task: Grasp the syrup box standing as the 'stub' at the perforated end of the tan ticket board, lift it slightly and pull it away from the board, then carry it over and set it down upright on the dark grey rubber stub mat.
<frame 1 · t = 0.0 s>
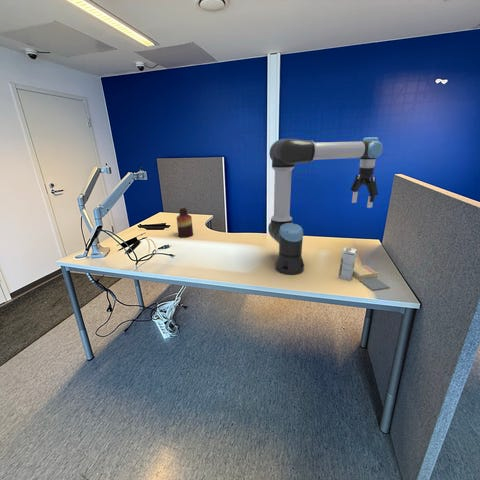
hand: (361, 205, 149), 28 cm above the table, fingers open, 13 cm apart
syrup box: (345, 277, 126), on the table
ticket board: (361, 274, 128), on the table
brown cylindrical bottle: (185, 235, 191), on the table
stub mat: (373, 284, 119), on the table
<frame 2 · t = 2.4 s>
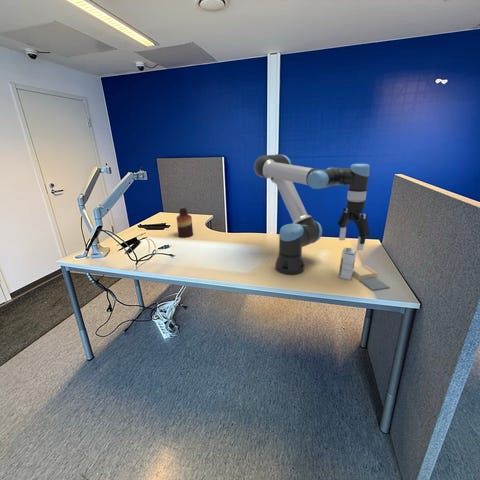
hand: (350, 244, 120), 17 cm above the table, fingers open, 13 cm apart
nothing on the table moved.
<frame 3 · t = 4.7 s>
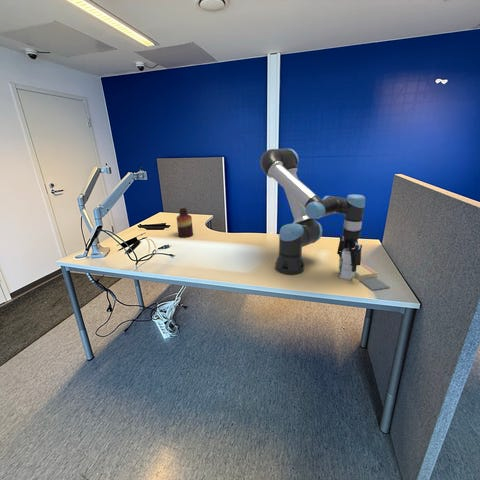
hand: (346, 272, 126), 2 cm above the table, fingers closed on syrup box, 8 cm apart
syrup box: (345, 277, 126), on the table, touching gripper
everything else where it was.
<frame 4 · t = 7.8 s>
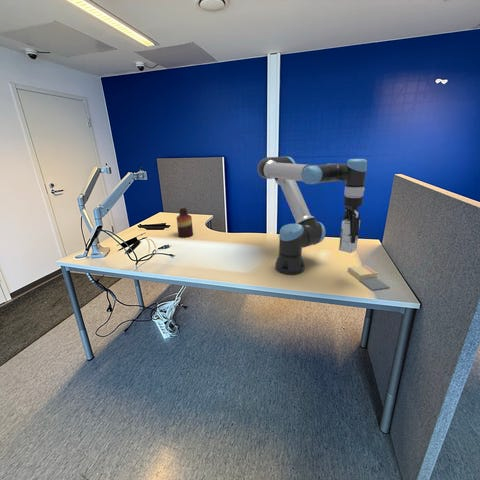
hand: (348, 245, 117), 18 cm above the table, fingers closed on syrup box, 8 cm apart
syrup box: (347, 250, 118), point 15 cm above the table, touching gripper
everything else where it was.
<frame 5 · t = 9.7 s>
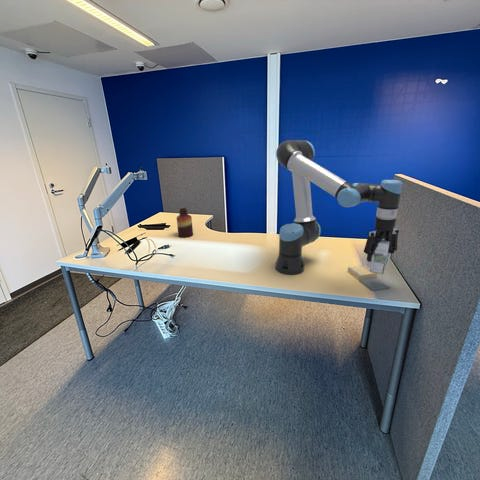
hand: (377, 266, 115), 9 cm above the table, fingers closed on syrup box, 8 cm apart
syrup box: (376, 271, 116), point 7 cm above the table, touching gripper
everything else where it was.
when the fingers open (4 cm above the table, at t = 11.3 s): syrup box drops 1 cm, resting on stub mat.
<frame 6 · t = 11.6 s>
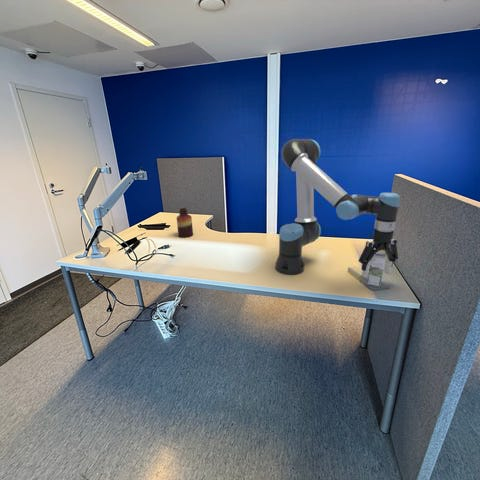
hand: (375, 274, 117), 5 cm above the table, fingers open, 11 cm apart
syrup box: (373, 283, 119), resting on stub mat
everything else where it was.
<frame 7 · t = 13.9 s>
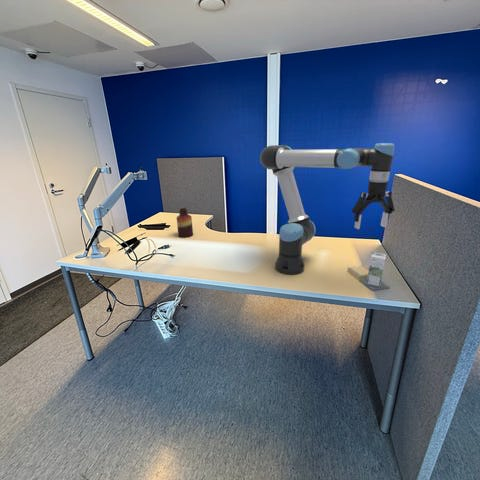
hand: (370, 227, 119), 25 cm above the table, fingers open, 13 cm apart
nothing on the table moved.
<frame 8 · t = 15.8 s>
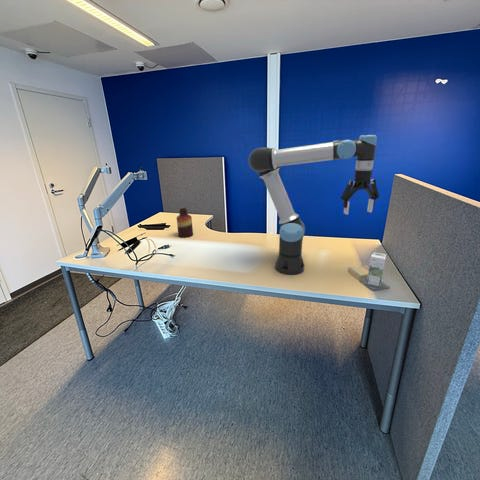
hand: (357, 212, 130), 29 cm above the table, fingers open, 13 cm apart
nothing on the table moved.
at the end: syrup box inside the target area on the stub mat (0.2 cm from its centre), point 0.4 cm above the stub mat's base; syrup box tilted 0°; syrup box moved 12.6 cm from its start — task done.
